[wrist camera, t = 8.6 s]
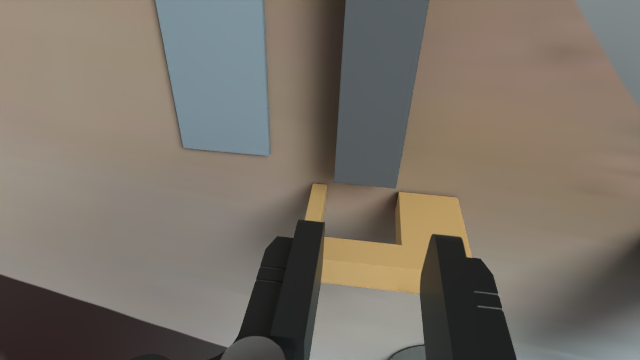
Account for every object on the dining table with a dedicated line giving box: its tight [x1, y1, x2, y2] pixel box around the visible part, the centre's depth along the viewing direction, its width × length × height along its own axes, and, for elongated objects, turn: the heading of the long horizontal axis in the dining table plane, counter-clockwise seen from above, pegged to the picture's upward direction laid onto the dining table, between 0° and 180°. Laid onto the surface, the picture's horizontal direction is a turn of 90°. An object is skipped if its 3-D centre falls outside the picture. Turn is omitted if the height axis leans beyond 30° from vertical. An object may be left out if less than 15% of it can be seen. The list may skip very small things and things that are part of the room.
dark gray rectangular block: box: [334, 0, 429, 188], centre depth 23 cm, size 14×4×3 cm, turn 178°
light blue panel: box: [155, 0, 271, 156], centre depth 24 cm, size 14×6×1 cm, turn 178°
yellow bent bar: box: [305, 183, 472, 294], centre depth 26 cm, size 2×10×7 cm, turn 88°
